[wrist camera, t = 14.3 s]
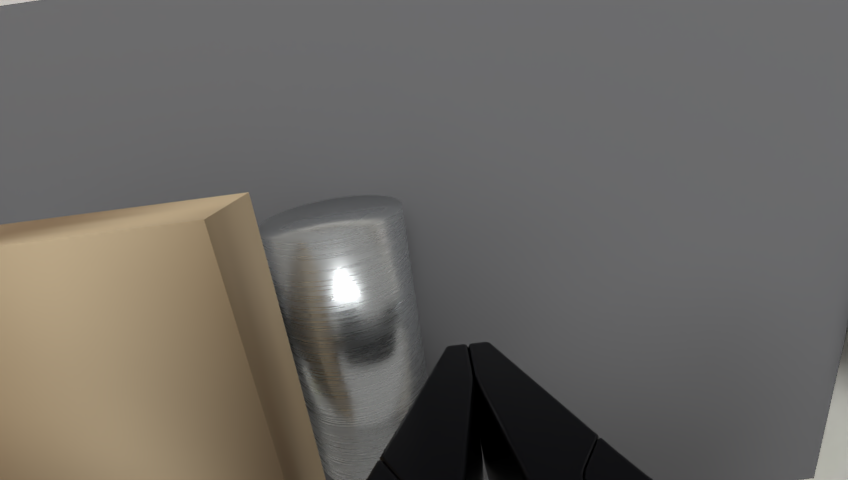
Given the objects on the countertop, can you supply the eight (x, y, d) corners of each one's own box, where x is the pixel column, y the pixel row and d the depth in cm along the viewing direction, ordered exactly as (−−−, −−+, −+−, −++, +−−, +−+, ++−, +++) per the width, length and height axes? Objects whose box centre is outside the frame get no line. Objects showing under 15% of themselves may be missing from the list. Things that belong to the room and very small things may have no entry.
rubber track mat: (927, -124, 9) (950, -133, 9) (802, 467, 14) (813, 478, 14) (-433, 74, 10) (-467, 74, 9) (-74, 562, 15) (-87, 575, 15)
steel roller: (226, 233, 9) (327, 194, 11) (293, 460, 11) (367, 386, 13) (336, 244, 7) (427, 196, 10) (391, 508, 9) (455, 414, 12)
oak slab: (249, 192, 7) (204, 220, 6) (340, 534, 10) (326, 615, 8) (-319, 266, 7) (-505, 311, 6) (-82, 579, 10) (-169, 666, 9)
